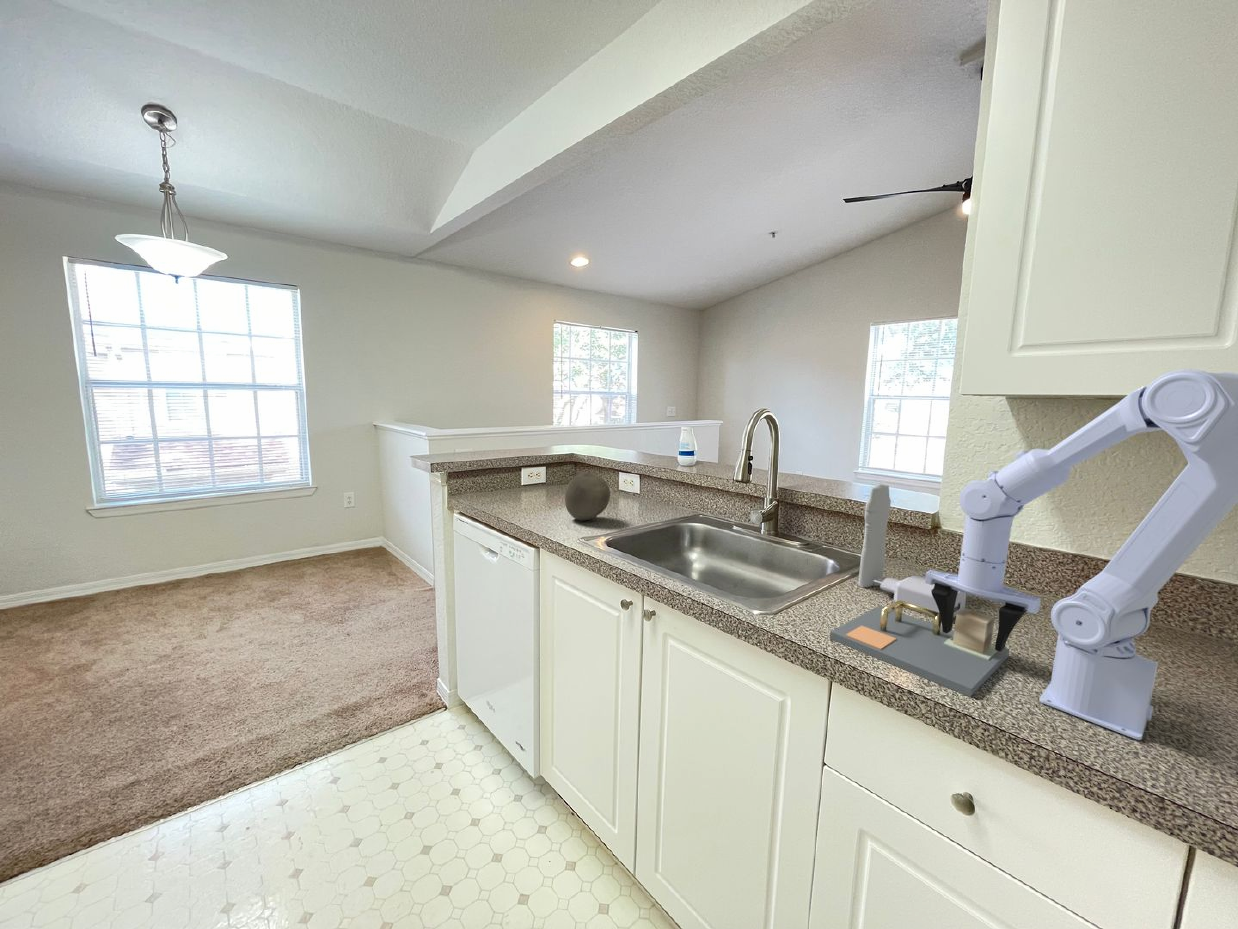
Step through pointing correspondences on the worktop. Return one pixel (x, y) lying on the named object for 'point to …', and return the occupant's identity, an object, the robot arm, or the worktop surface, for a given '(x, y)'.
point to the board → (920, 650)
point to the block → (973, 630)
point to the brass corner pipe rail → (899, 609)
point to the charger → (917, 592)
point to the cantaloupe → (586, 496)
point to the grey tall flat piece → (874, 536)
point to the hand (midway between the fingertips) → (972, 639)
